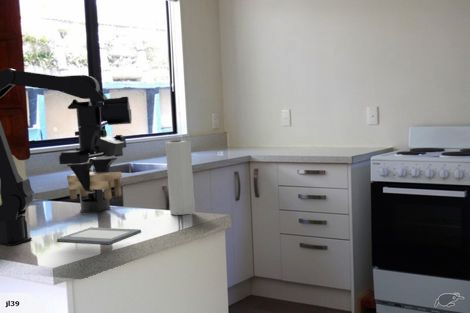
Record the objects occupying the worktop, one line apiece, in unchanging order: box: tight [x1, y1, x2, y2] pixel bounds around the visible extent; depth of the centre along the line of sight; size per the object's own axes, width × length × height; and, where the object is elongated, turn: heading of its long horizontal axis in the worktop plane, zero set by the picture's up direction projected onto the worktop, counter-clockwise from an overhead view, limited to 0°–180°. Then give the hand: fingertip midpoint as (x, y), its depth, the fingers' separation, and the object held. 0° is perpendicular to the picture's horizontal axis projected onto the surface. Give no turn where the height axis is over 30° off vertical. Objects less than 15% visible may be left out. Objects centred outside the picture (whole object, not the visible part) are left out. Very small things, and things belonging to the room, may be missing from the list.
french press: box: [78, 157, 111, 213], centre depth 187 cm, size 12×9×23 cm
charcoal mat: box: [56, 226, 142, 245], centre depth 148 cm, size 13×16×1 cm
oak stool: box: [66, 171, 123, 200], centre depth 147 cm, size 12×6×6 cm, turn 67°
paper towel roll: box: [164, 140, 196, 216], centre depth 171 cm, size 7×6×21 cm
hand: (95, 188), depth 147 cm, fingers closed on oak stool, 6 cm apart
